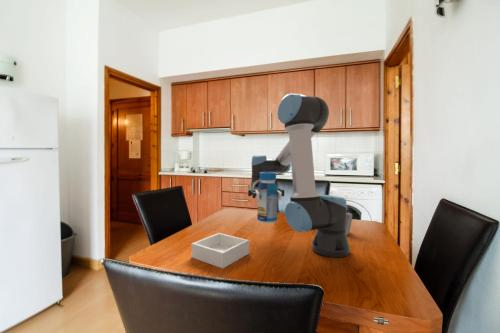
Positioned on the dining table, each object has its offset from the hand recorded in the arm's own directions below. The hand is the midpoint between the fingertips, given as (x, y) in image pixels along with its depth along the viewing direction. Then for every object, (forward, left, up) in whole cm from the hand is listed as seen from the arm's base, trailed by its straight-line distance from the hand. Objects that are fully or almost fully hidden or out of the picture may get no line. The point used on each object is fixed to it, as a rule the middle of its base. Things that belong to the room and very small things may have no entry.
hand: (269, 196), depth 97 cm
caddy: (+16, +10, -24) cm, 31 cm away
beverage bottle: (+3, -4, -11) cm, 12 cm away
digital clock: (-12, -48, -24) cm, 55 cm away
